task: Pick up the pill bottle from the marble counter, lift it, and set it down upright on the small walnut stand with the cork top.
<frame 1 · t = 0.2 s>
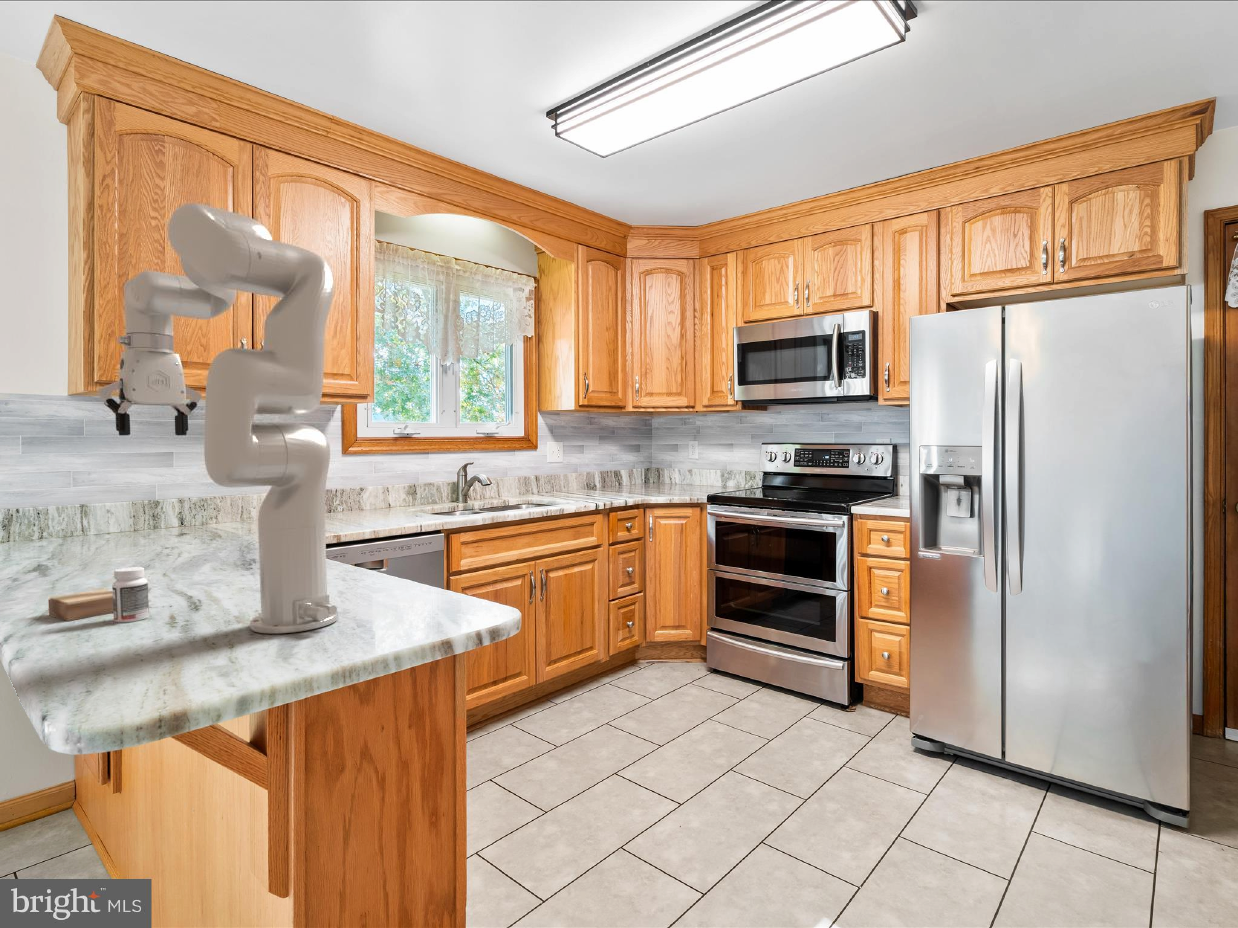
hand: (153, 435, 130), 31 cm above the countertop, tool pointing down, fingers open, 9 cm apart
walnut stand: (86, 612, 116), on the countertop
pill bottle: (131, 620, 112), on the countertop
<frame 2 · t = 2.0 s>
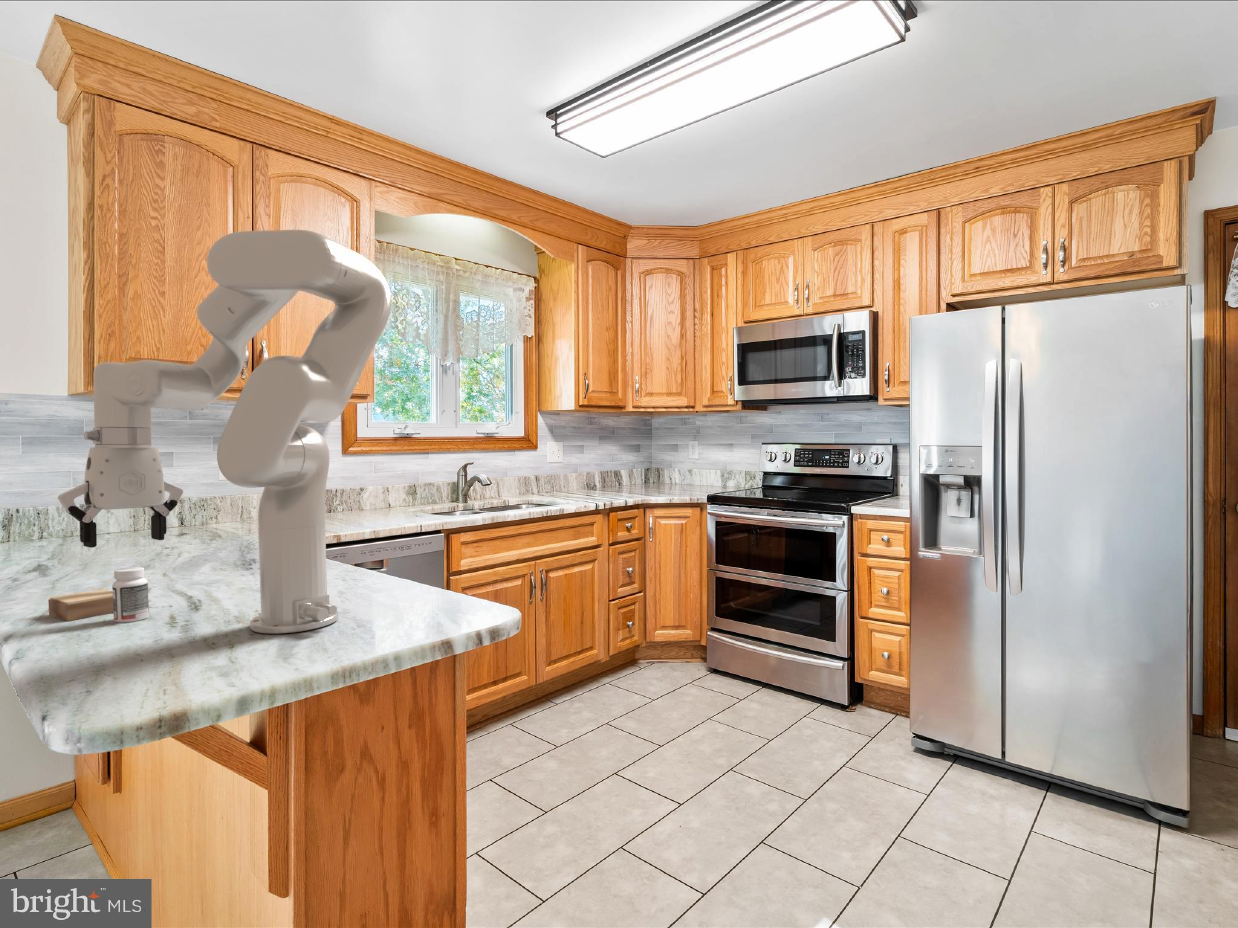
hand: (125, 542, 111), 13 cm above the countertop, tool pointing down, fingers open, 9 cm apart
nothing on the countertop moved.
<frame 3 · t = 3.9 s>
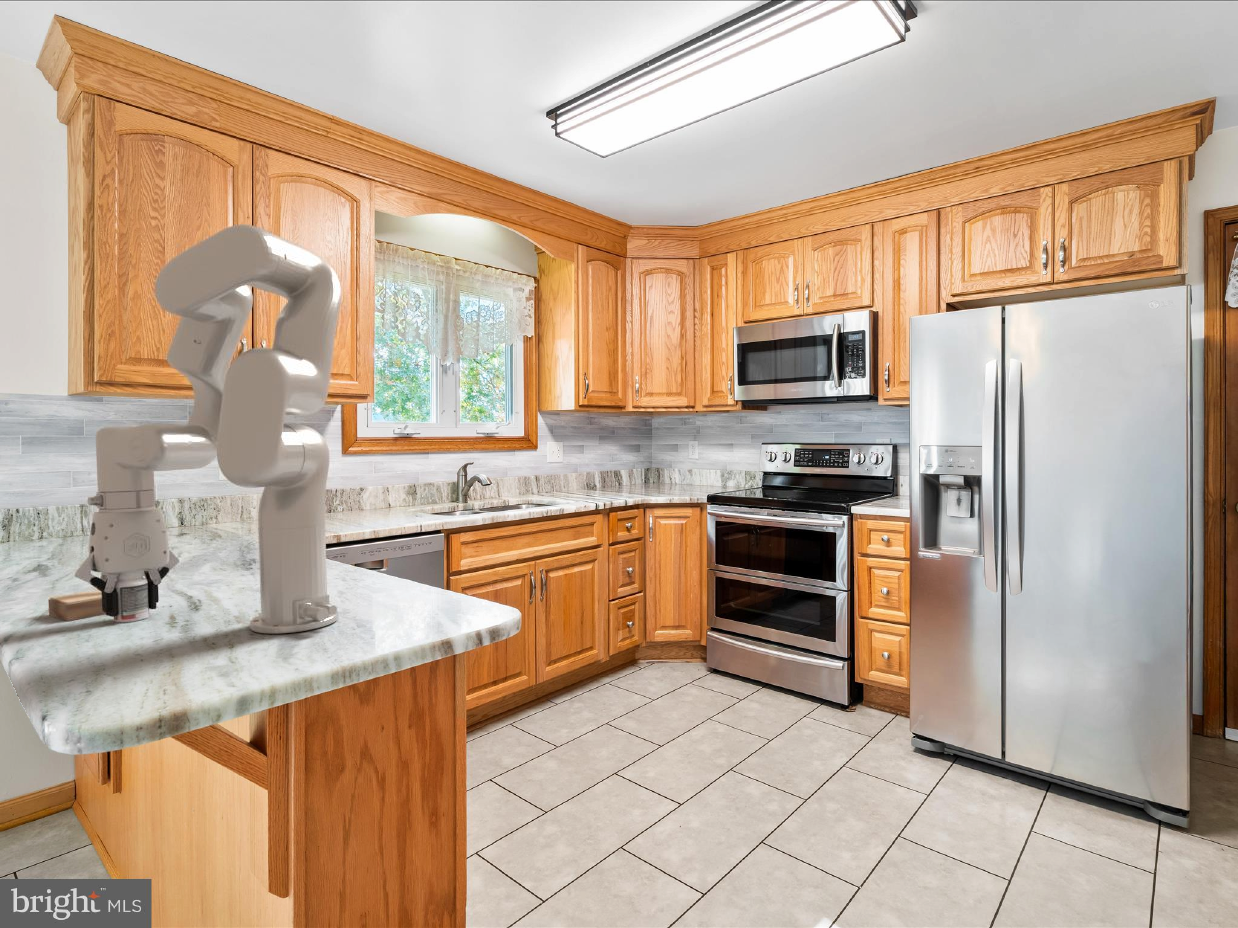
hand: (131, 610, 112), 1 cm above the countertop, tool pointing down, fingers closed on pill bottle, 4 cm apart
pill bottle: (131, 620, 112), on the countertop, touching gripper
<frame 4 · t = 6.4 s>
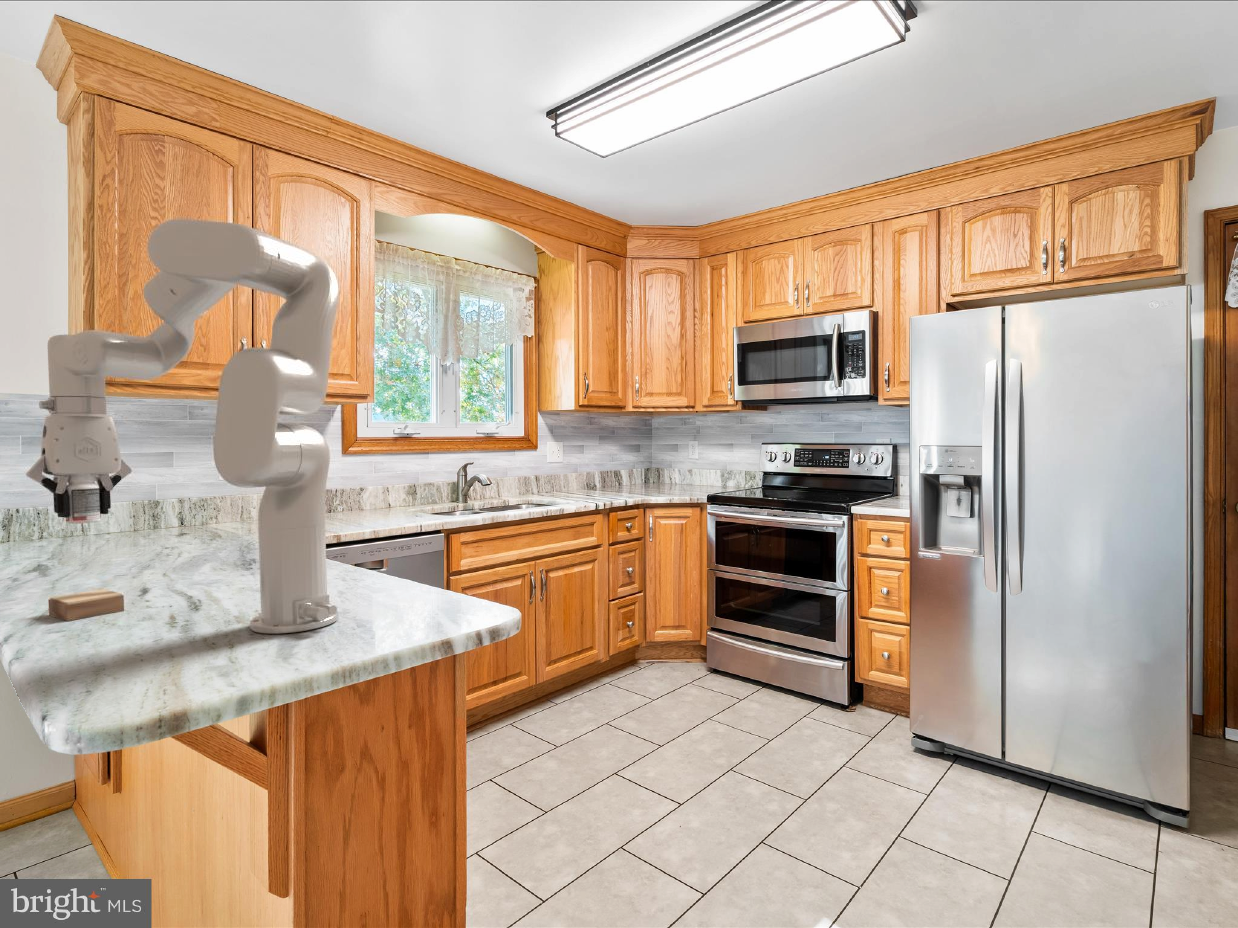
hand: (83, 514, 116), 17 cm above the countertop, tool pointing down, fingers closed on pill bottle, 4 cm apart
pill bottle: (83, 523, 116), point 15 cm above the countertop, touching gripper
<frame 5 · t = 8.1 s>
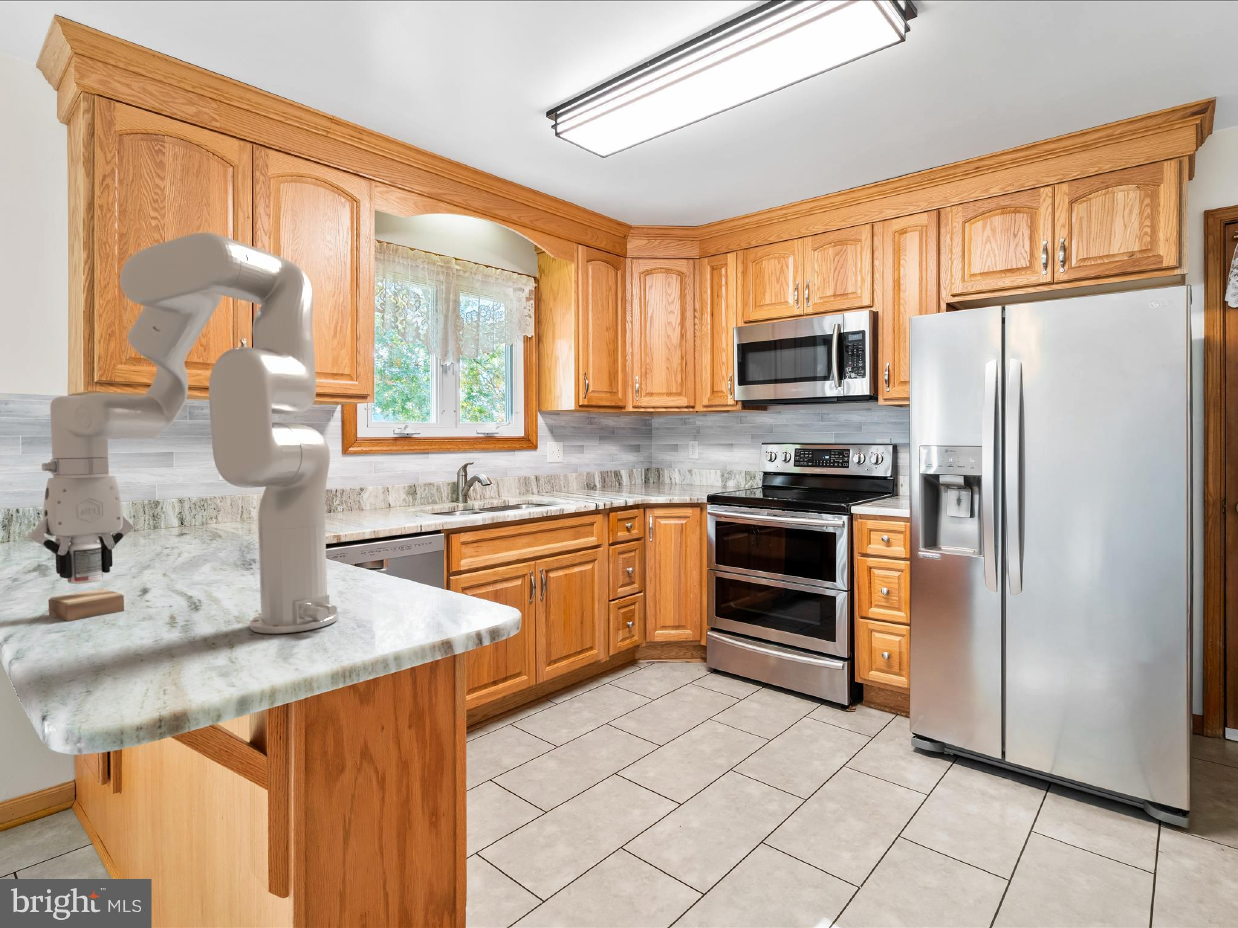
hand: (85, 573, 116), 7 cm above the countertop, tool pointing down, fingers closed on pill bottle, 4 cm apart
pill bottle: (85, 582, 116), point 5 cm above the countertop, touching gripper
when the fingers open (5 cm above the countertop, at t = 9.2 s): pill bottle stays where it is, resting on walnut stand.
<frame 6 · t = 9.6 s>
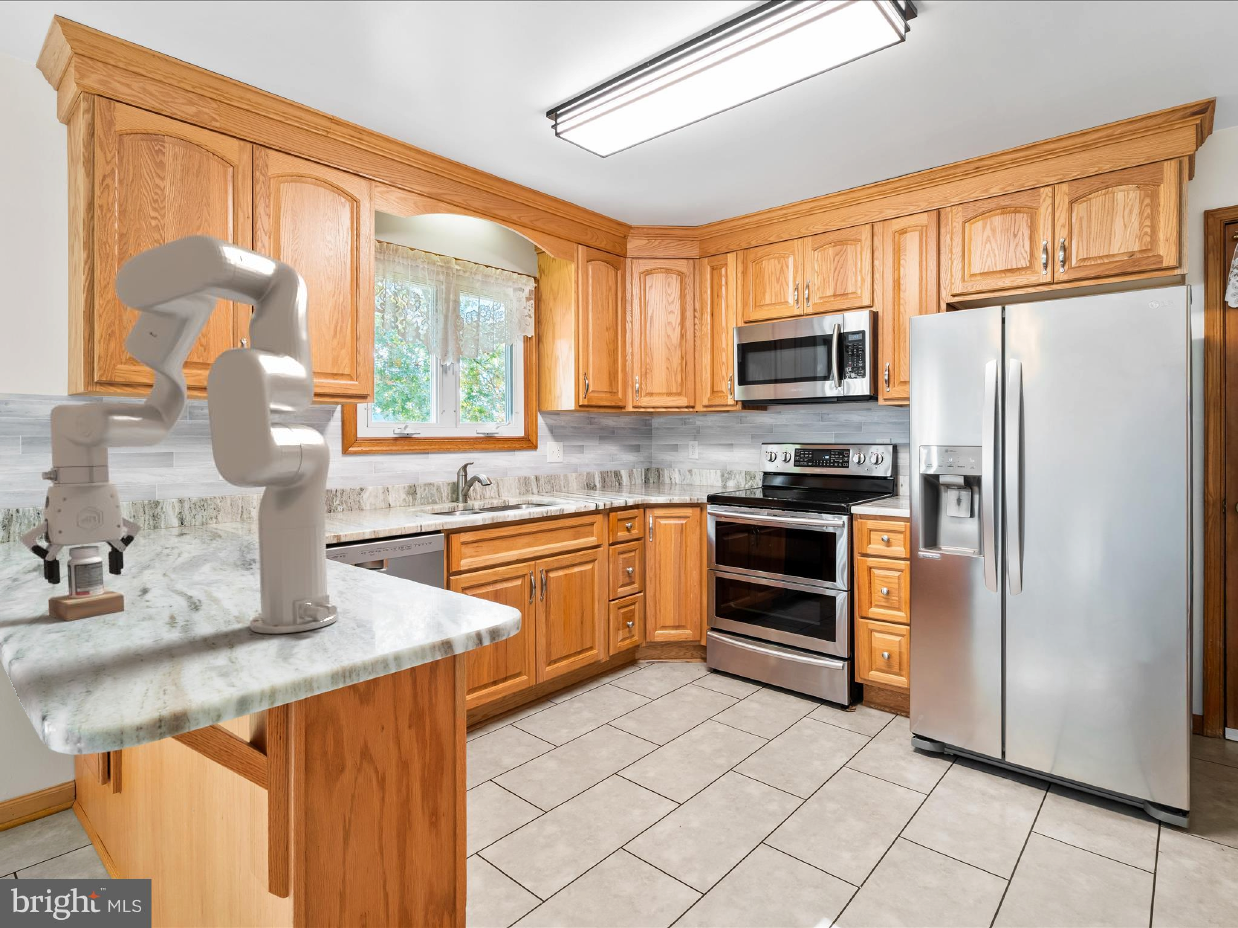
hand: (85, 578, 116), 6 cm above the countertop, tool pointing down, fingers open, 8 cm apart
pill bottle: (86, 596, 116), point 3 cm above the countertop, touching walnut stand
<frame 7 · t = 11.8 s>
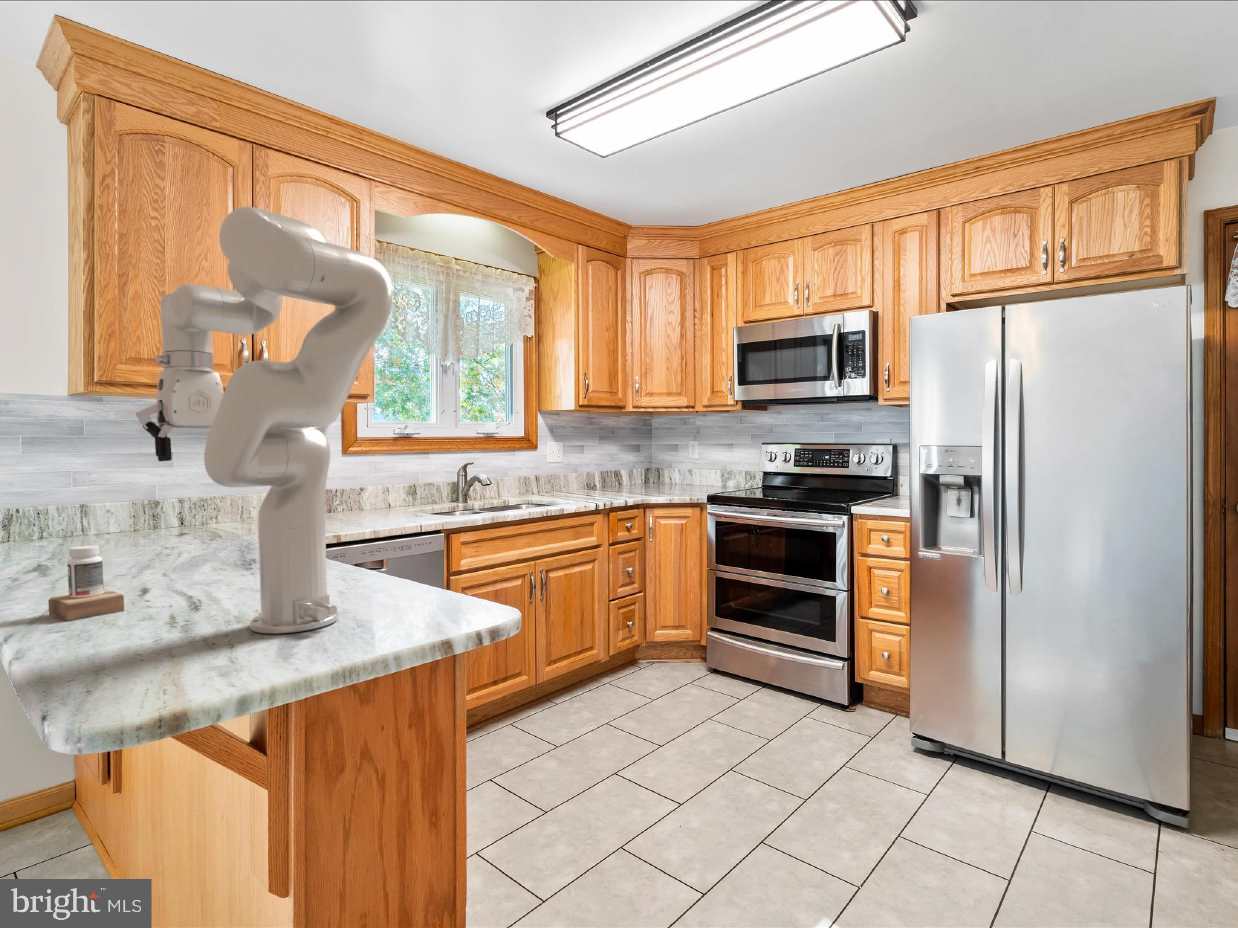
hand: (194, 460, 121), 26 cm above the countertop, tool pointing down, fingers open, 9 cm apart
nothing on the countertop moved.
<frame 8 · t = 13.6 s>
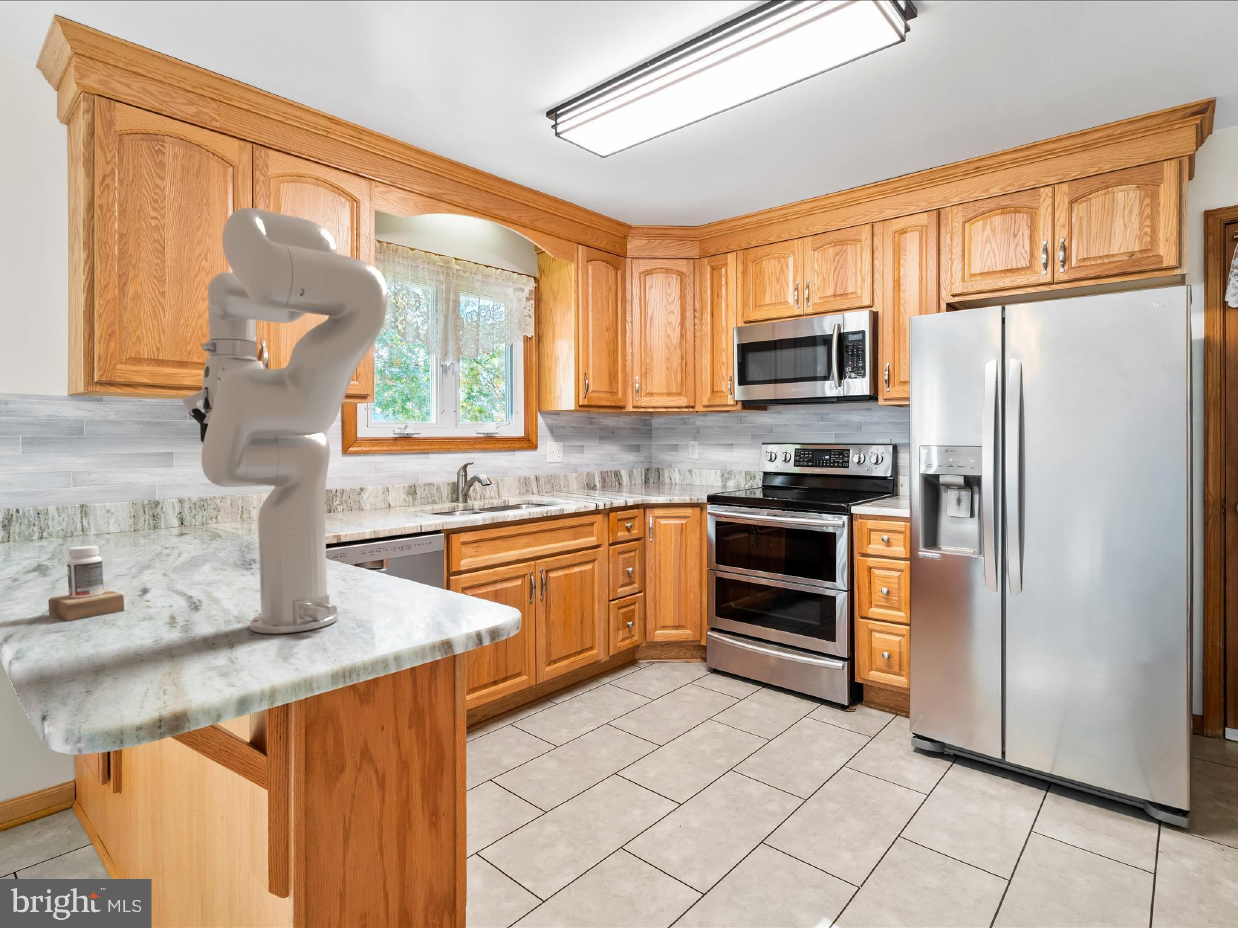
hand: (236, 446, 124), 28 cm above the countertop, tool pointing down, fingers open, 9 cm apart
nothing on the countertop moved.
at the end: pill bottle inside the target area on the walnut stand (0.2 cm from its centre), point 2.8 cm above the walnut stand's base; pill bottle tilted 0°; the gripper is holding nothing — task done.
